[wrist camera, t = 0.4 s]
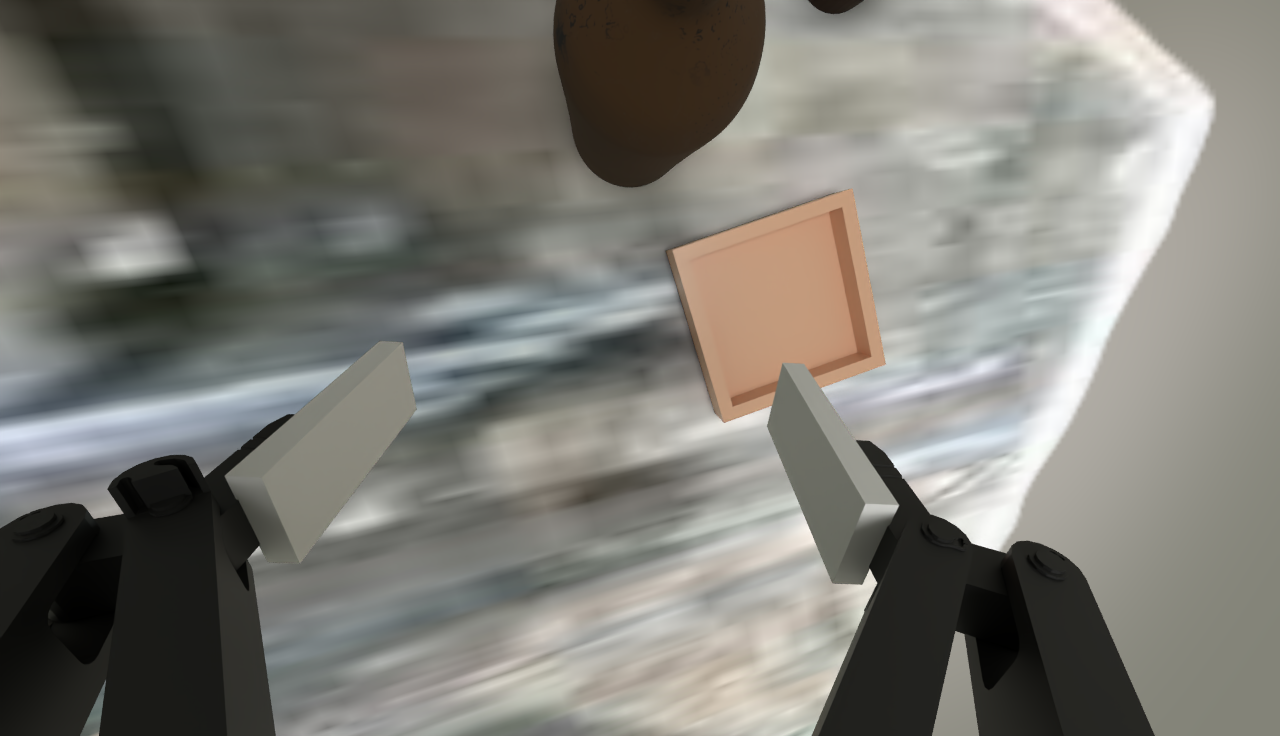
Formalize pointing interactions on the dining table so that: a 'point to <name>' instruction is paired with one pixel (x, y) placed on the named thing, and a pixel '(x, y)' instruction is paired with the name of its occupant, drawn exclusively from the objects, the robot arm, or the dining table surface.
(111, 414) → the dining table surface
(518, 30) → the dining table surface
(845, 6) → the coffee mug
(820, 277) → the bin
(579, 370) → the dining table surface
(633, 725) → the dining table surface
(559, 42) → the olive oil
